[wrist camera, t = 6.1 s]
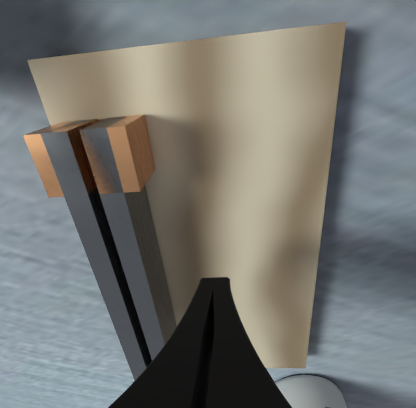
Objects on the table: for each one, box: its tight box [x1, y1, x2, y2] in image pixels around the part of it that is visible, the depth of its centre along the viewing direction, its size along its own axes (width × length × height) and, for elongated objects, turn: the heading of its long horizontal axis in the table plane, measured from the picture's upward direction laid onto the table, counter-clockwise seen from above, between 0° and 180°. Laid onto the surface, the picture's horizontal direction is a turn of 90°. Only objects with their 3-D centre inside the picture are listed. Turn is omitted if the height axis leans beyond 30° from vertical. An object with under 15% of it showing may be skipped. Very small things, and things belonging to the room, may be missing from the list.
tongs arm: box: [79, 114, 177, 361], centre depth 17 cm, size 2×19×3 cm, turn 6°
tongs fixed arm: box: [23, 119, 152, 380], centre depth 17 cm, size 4×21×3 cm, turn 5°
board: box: [27, 22, 346, 368], centre depth 19 cm, size 15×25×2 cm, turn 6°
